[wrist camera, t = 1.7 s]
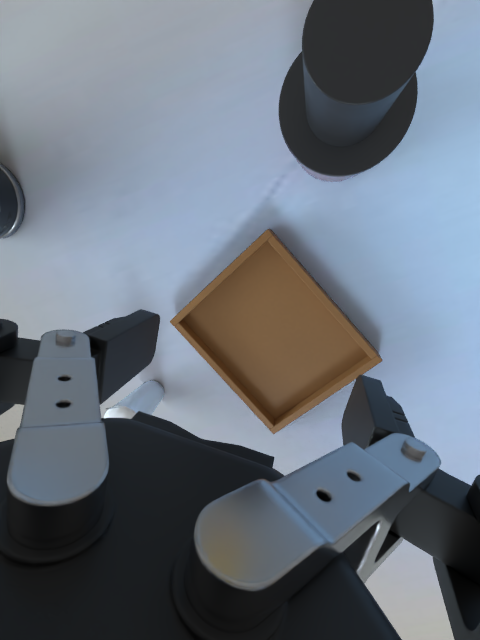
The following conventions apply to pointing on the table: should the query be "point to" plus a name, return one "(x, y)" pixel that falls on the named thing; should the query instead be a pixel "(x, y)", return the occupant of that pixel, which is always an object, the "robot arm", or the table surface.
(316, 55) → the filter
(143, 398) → the milkshake
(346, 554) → the robot arm
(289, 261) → the tray
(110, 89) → the table surface
